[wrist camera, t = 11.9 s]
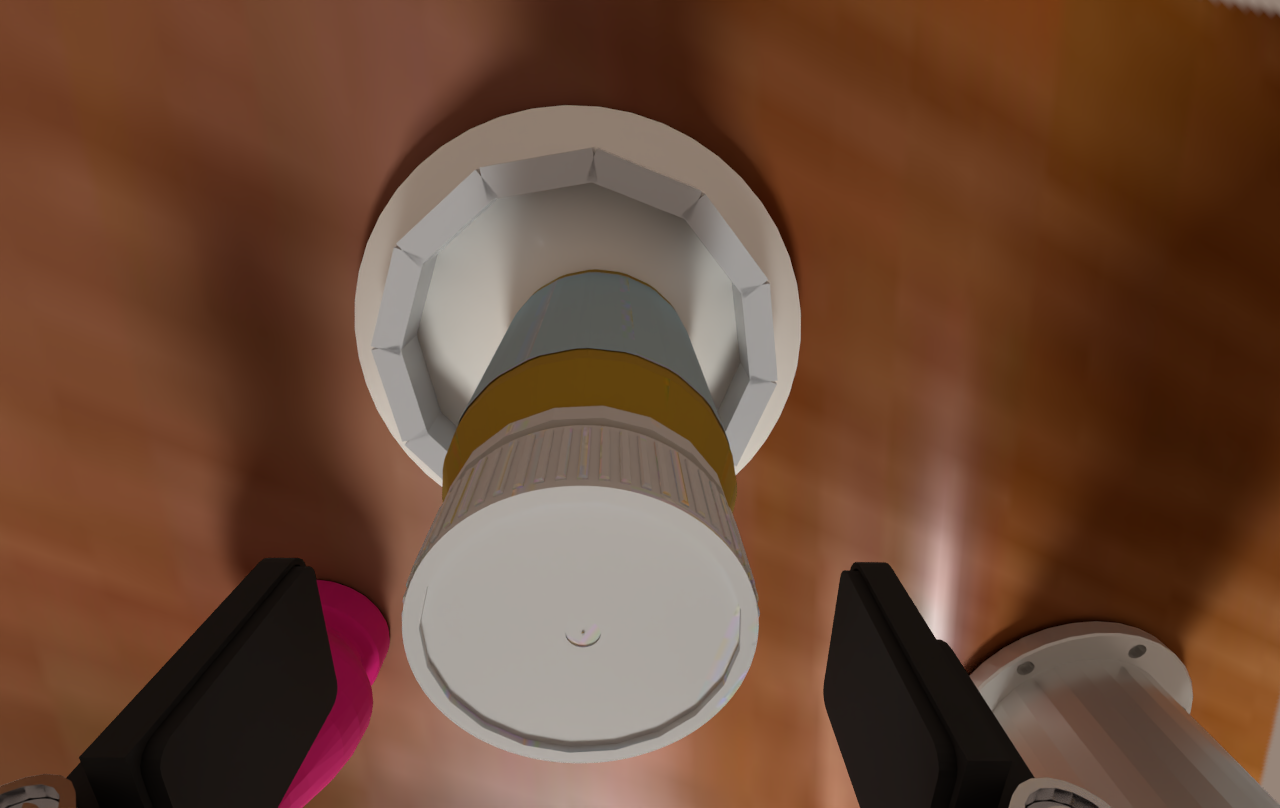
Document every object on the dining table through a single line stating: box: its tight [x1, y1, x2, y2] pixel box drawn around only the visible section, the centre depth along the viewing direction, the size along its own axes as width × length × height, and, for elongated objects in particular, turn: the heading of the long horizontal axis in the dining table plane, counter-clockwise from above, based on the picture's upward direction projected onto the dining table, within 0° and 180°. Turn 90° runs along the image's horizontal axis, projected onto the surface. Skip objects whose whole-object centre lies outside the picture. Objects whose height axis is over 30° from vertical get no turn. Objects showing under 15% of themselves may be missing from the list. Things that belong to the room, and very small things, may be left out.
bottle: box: [402, 269, 759, 763], centre depth 18 cm, size 7×7×15 cm
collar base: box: [355, 105, 801, 486], centre depth 24 cm, size 17×17×3 cm
